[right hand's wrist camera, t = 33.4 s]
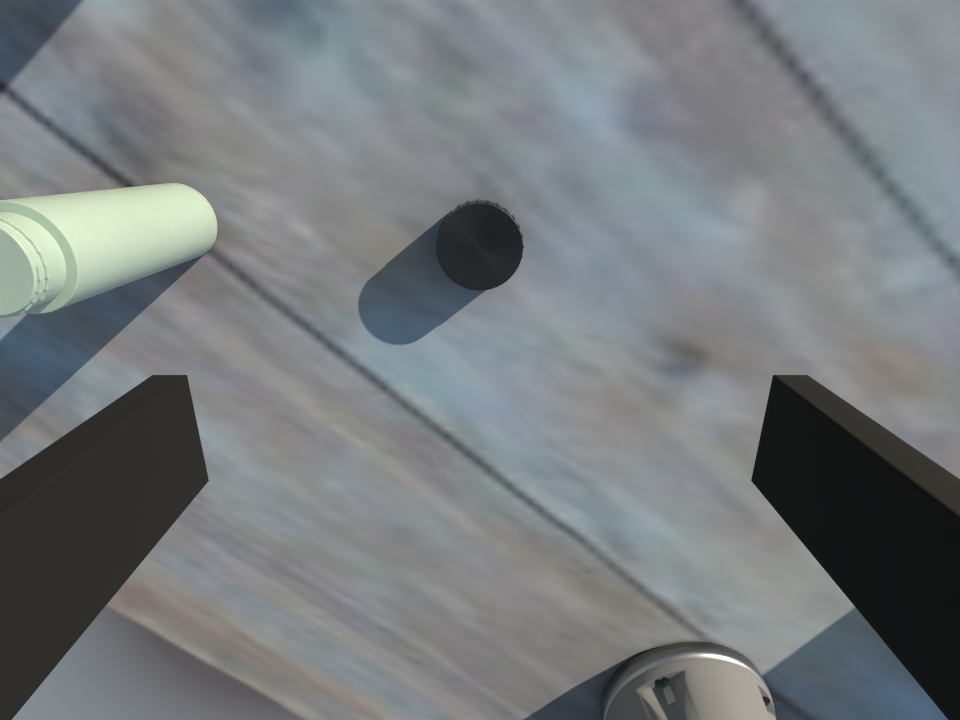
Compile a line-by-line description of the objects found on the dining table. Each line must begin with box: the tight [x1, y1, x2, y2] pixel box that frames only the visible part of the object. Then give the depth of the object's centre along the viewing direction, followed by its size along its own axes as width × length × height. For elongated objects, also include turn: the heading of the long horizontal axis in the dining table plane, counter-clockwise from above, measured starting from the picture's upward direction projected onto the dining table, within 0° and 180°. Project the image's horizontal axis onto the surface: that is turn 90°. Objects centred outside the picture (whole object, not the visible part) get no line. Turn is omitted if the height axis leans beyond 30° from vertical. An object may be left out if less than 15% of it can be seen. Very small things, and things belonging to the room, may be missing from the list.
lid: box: [436, 199, 524, 290], centre depth 35 cm, size 6×6×2 cm
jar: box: [0, 183, 217, 318], centre depth 29 cm, size 5×5×15 cm
